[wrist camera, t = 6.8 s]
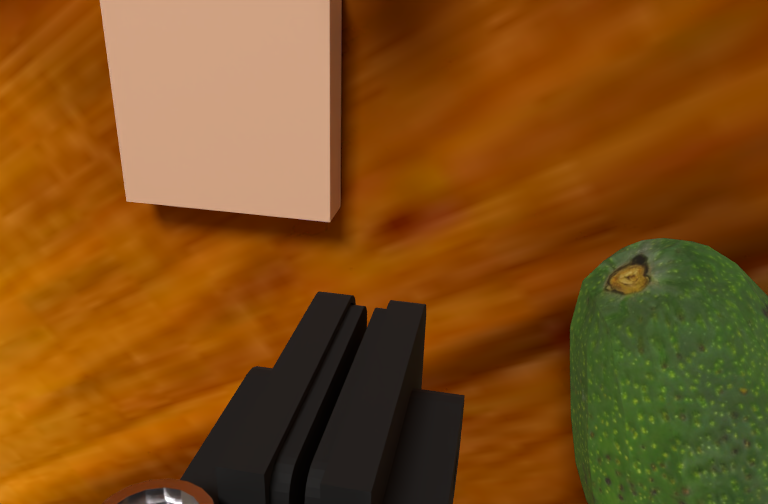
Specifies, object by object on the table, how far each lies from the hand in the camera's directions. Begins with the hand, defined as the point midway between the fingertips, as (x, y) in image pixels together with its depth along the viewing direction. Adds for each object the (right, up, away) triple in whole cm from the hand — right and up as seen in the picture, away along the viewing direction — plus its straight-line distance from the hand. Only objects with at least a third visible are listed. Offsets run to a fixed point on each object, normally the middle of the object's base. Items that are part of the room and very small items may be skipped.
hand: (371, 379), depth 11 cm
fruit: (+13, -3, +20) cm, 24 cm away
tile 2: (-2, +8, +17) cm, 18 cm away
